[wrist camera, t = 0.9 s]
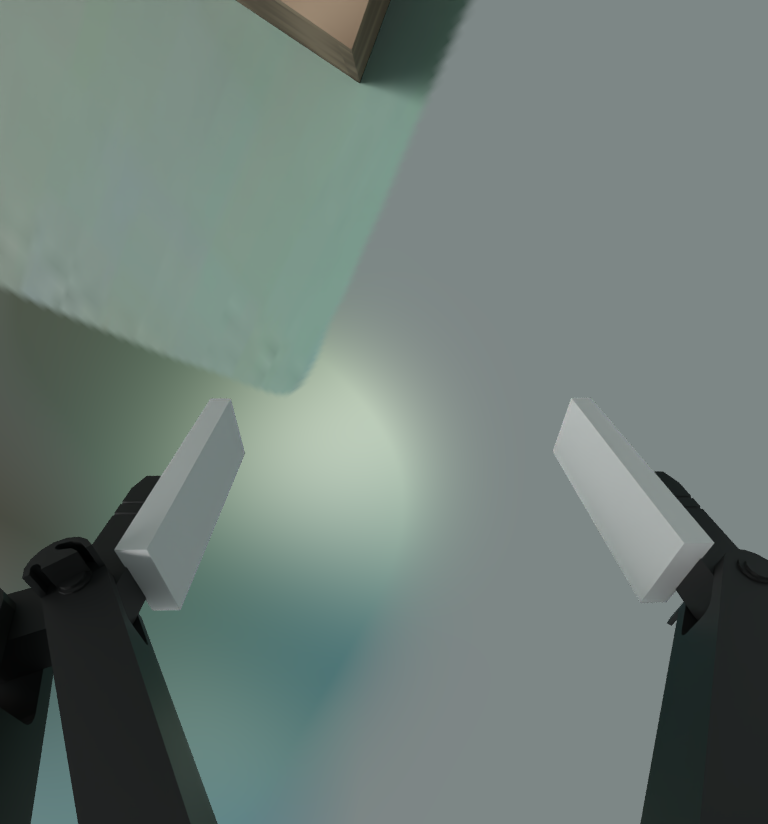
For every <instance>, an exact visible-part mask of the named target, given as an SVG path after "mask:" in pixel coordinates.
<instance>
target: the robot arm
mask: <svg viewBox="0 0 768 824" xmlns="http://www.w3.org/2000/svg"><path fill="white" fill-rule="evenodd" d="M553 453H554V454H555V456H556V458H557V460H558V461H559V463H560V464H561V467H562V468H563V470H564V472H565V473H566V475H567V477H568V478H569V480H570V482H571V484H572V486H573V487H574V489H575V490H576V492H577V494H578V496H579V498H580V499H581V501H582V503H583V505H584V506H585V508H586V510H587V511H588V513H589V515H590V517H591V518H592V520H593V521H594V524H595V525H596V527H597V529H598V530H599V532H600V534H601V536H602V537H603V539H604V541H605V542H606V544H607V546H608V548H609V549H610V551H611V553H612V554H613V556H614V558H615V560H616V561H617V563H618V565H619V567H620V568H621V570H622V572H623V573H624V575H625V577H626V578H627V580H628V582H629V584H630V586H631V587H632V589H633V591H634V592H635V594H636V596H637V598H638V599H639V601H640V602H641V603H649V602H650V603H653V602H667V601H668V600H669V598H670V597H671V596H672V595H673V593H674V592H675V591H677V592H678V593H679V595H680V597H681V598H682V599H683V601H684V602H683V604H682V605H681V606H680V607H679V608H678V609H677V610H676V612H675V613H674V614H673V615H672V616H671V617H670V619H669V621H668V622H667V623H668V624H669V625H673V623H674V622H675V621H676V620H677V623H676V628H675V634H674V640H673V646H672V651H671V656H670V662H669V667H668V673H667V678H666V684H665V690H664V695H663V701H662V707H661V712H660V718H659V723H658V729H657V734H656V740H655V746H654V751H653V757H652V762H651V769H650V773H649V779H648V784H647V790H646V796H645V801H644V807H643V813H642V818H641V823H640V824H768V560H767V559H765V558H763V557H761V556H759V555H757V554H755V553H752V552H749V551H746V550H740V549H738V548H737V547H736V546H735V544H734V543H733V542H732V541H731V540H730V539H729V538H728V537H727V535H726V534H724V532H723V531H722V530H721V529H720V528H719V527H718V526H717V524H716V523H715V522H714V521H713V520H712V519H711V518H710V517H709V516H708V514H707V513H706V512H705V511H704V510H703V509H700V505H699V504H698V503H697V502H696V501H695V500H694V499H693V498H691V496H690V494H689V493H688V492H687V491H686V490H685V489H684V488H683V486H681V484H680V483H679V482H677V481H676V480H674V479H673V478H672V477H670V476H669V475H667V474H666V473H664V472H654V471H653V470H652V469H651V468H650V467H649V465H648V464H647V463H646V462H645V461H644V460H643V458H642V457H641V456H640V455H639V454H638V452H637V451H636V450H635V449H634V448H633V447H632V445H631V444H630V443H629V442H628V441H627V440H626V438H625V437H624V436H623V435H622V434H621V432H620V431H619V430H618V429H617V428H616V427H615V425H614V424H613V423H612V422H611V421H610V420H609V418H608V417H607V416H606V415H605V414H604V413H603V411H602V410H601V409H600V408H599V407H598V406H597V404H596V403H595V402H594V401H593V400H592V398H571V401H570V403H569V406H568V409H567V412H566V415H565V418H564V421H563V424H562V426H561V429H560V432H559V435H558V438H557V441H556V444H555V447H554V450H553ZM244 454H245V452H244V448H243V444H242V440H241V436H240V432H239V428H238V425H237V420H236V416H235V413H234V409H233V405H232V401H231V398H214V399H213V398H211V399H210V400H209V402H208V403H207V405H206V406H205V408H204V409H203V411H202V413H201V414H200V416H199V418H198V419H197V420H196V422H195V424H194V425H193V427H192V428H191V430H190V431H189V433H188V435H187V436H186V438H185V439H184V441H183V442H182V444H181V446H180V447H179V449H178V450H177V452H176V453H175V455H174V457H173V458H172V460H171V461H170V463H169V464H168V466H167V468H166V469H165V471H164V472H163V474H162V475H161V476H146V477H145V478H144V479H142V480H141V481H140V482H139V483H137V484H136V485H135V486H134V487H133V488H132V489H131V490H130V491H129V493H128V494H127V496H126V497H125V499H124V500H123V503H122V504H120V506H119V507H118V509H117V510H116V512H115V515H114V516H112V517H111V519H110V520H109V521H108V523H107V524H106V526H105V527H104V529H103V530H102V532H101V533H100V534H99V536H98V537H97V539H96V540H95V542H94V543H93V544H92V545H91V543H90V542H89V541H88V540H87V539H85V538H81V537H72V538H66V539H63V540H60V541H57V542H54V543H52V544H51V545H49V546H47V547H45V548H44V549H42V550H41V551H40V552H38V553H37V555H35V556H34V557H33V558H32V559H31V560H30V561H29V563H28V564H27V566H26V567H25V568H24V572H23V577H22V578H23V579H24V580H25V582H26V583H27V584H28V585H29V586H30V587H31V588H29V589H25V590H22V591H18V592H14V593H11V594H8V595H7V594H6V593H5V592H4V591H3V590H2V589H1V588H0V824H31V817H32V810H33V804H34V797H35V791H36V784H37V777H38V771H39V765H40V758H41V752H42V745H43V738H44V732H45V724H46V719H47V712H48V706H49V699H50V693H51V685H52V679H53V674H54V680H55V686H56V692H57V698H58V704H59V710H60V716H61V722H62V729H63V734H64V741H65V746H66V752H67V759H68V764H69V771H70V777H71V783H72V789H73V795H74V801H75V807H76V813H77V819H78V824H217V821H216V818H215V815H214V813H213V810H212V807H211V805H210V802H209V799H208V796H207V794H206V791H205V788H204V786H203V783H202V780H201V777H200V775H199V772H198V769H197V767H196V764H195V761H194V759H193V756H192V753H191V750H190V748H189V745H188V742H187V739H186V737H185V734H184V732H183V729H182V726H181V723H180V720H179V718H178V715H177V712H176V710H175V707H174V704H173V701H172V699H171V696H170V694H169V691H168V688H167V685H166V682H165V680H164V677H163V675H162V672H161V669H160V666H159V663H158V661H157V658H156V655H155V653H154V650H153V647H152V644H151V642H150V639H149V636H148V634H147V631H146V628H145V626H144V623H143V620H142V618H141V616H140V615H139V611H140V609H141V607H142V605H143V603H144V601H145V599H146V601H147V602H148V604H149V606H150V607H151V609H152V610H180V609H181V607H182V605H183V602H184V600H185V597H186V595H187V592H188V590H189V588H190V585H191V583H192V580H193V578H194V575H195V573H196V571H197V568H198V566H199V563H200V561H201V558H202V556H203V554H204V551H205V549H206V546H207V544H208V541H209V539H210V536H211V534H212V531H213V529H214V527H215V525H216V522H217V520H218V517H219V515H220V512H221V510H222V507H223V505H224V503H225V500H226V498H227V496H228V493H229V490H230V488H231V486H232V483H233V481H234V479H235V476H236V474H237V471H238V469H239V467H240V464H241V462H242V459H243V457H244Z"/></svg>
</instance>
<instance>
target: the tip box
mask: <svg viewBox="0 0 768 824" xmlns="http://www.w3.org/2000/svg"><path fill="white" fill-rule="evenodd" d="M236 1H238V2H239V3H241V4H242V5H244V6H245V7H247V8H248V9H250V10H251V11H253V12H254V13H256V14H257V15H259V16H260V17H262V18H263V19H265V20H266V21H267V22H269V23H270V24H272V25H273V26H275V27H276V28H278V29H279V30H281V31H282V32H284V33H285V34H287V35H288V36H290V37H291V38H293V39H294V40H296V41H297V42H299V43H300V44H302V45H303V46H305V47H306V48H308V49H309V50H311V51H312V52H314V53H315V54H317V55H318V56H320V57H321V58H323V59H324V60H326V61H327V62H329V63H330V64H332V65H333V66H335V67H336V68H338V69H339V70H341V71H342V72H344V73H345V74H347V75H348V76H350V77H351V78H353V79H354V80H356V81H357V82H359V83H360V81H361V78H362V75H363V73H364V70H365V67H366V65H367V62H368V59H369V57H370V54H371V51H372V48H373V46H374V43H375V40H376V38H377V35H378V32H379V30H380V27H381V24H382V22H383V19H384V16H385V14H386V11H387V8H388V5H389V3H390V0H236Z"/></svg>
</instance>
